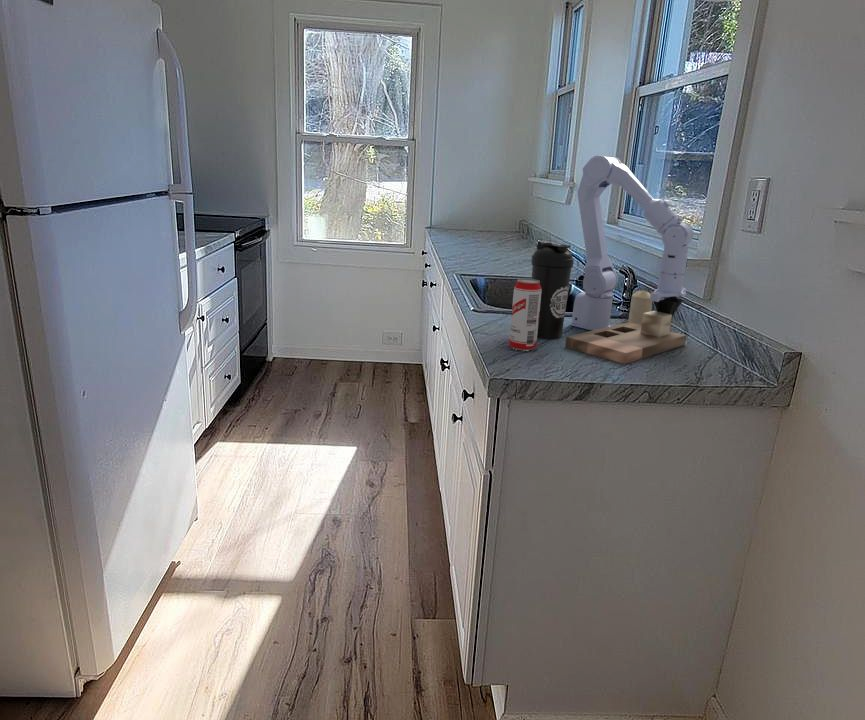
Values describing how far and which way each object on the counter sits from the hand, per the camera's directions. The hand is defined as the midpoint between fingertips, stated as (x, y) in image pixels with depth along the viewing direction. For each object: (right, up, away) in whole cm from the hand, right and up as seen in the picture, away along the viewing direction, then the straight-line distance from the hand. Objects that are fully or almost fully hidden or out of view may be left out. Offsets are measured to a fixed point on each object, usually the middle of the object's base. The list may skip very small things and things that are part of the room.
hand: (663, 326), depth 164 cm
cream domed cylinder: (-2, +1, +15) cm, 15 cm away
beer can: (-37, -6, -12) cm, 40 cm away
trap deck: (-11, -5, -5) cm, 13 cm away
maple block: (-3, -2, -2) cm, 4 cm away
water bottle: (-30, -2, +1) cm, 30 cm away
